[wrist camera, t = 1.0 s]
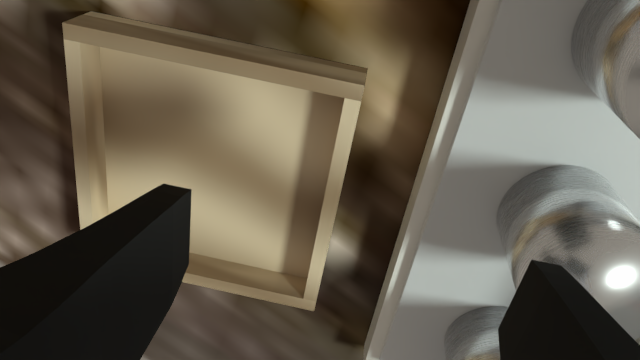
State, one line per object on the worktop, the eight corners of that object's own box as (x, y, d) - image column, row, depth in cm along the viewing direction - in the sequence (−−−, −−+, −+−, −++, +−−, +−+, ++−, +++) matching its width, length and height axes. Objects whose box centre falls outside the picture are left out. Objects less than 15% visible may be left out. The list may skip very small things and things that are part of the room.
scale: (610, 399, 26) (692, 594, 19) (364, 344, 27) (352, 515, 19) (942, -62, 15) (1444, -21, 8) (514, -145, 16) (619, -179, 8)
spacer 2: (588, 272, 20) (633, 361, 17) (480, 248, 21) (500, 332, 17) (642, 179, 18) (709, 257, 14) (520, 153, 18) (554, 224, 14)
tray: (319, 282, 25) (313, 311, 23) (104, 234, 25) (83, 259, 24) (367, 68, 20) (364, 85, 18) (91, 11, 20) (61, 22, 18)
